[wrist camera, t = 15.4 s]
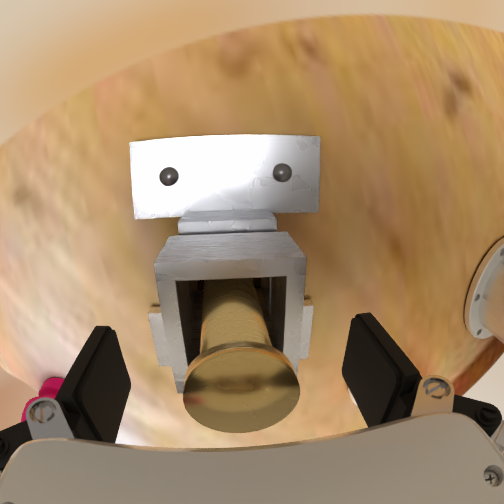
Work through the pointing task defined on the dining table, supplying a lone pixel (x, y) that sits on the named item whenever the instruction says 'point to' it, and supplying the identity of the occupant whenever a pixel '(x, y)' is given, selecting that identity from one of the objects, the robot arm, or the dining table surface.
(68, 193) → the dining table surface
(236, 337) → the hinge pin
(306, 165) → the fixed leaf
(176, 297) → the square tube bracket
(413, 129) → the dining table surface
